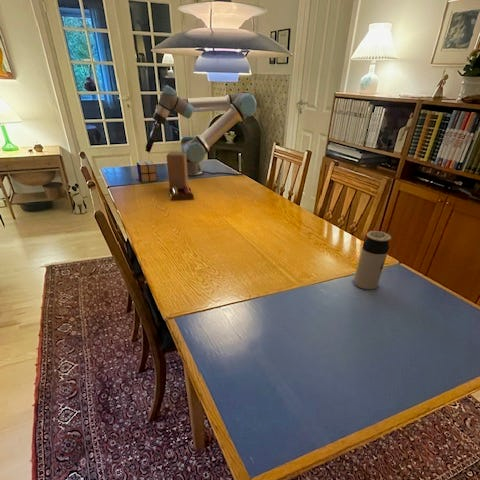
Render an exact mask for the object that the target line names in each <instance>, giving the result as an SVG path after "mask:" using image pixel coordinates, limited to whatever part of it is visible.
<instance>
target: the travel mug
mask: <svg viewBox="0 0 480 480" xmlns="http://www.w3.org/2000/svg"><path fill="white" fill-rule="evenodd" d="M391 240H392V236H391V235H390V234H389V233H387V232H384V231H379V230H370V231H368V232H367V233H366V239H365V240H364V242H363V243H362V247H361V252H360V256H359V259H358V263H357V267H356V271H355V275H354V279H353V283H354V285H355V286H356V287H358V288H361V289H363V290H374V289H377V288H378V285H379V282H380V278H381V275H382V271H383V269H384V266H385V262H386V259H387V256H388V252H389V249H390V244H389V242H390V241H391Z"/></svg>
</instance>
